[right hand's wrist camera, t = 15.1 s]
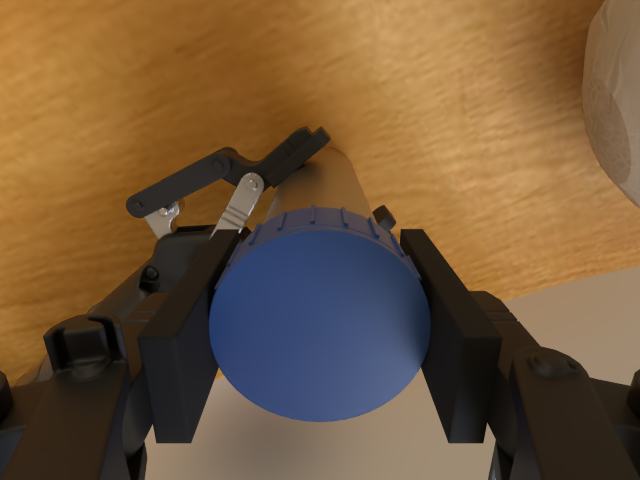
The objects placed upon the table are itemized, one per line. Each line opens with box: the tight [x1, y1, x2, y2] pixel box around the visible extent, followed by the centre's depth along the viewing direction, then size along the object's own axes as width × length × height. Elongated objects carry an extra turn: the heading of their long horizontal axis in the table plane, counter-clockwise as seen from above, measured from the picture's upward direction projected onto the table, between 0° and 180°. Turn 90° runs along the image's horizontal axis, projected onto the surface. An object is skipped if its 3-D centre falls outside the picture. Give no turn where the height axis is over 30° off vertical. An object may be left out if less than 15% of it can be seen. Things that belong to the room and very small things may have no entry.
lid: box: [208, 205, 431, 422], centre depth 11 cm, size 6×6×2 cm
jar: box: [263, 146, 377, 224], centre depth 19 cm, size 5×5×18 cm
